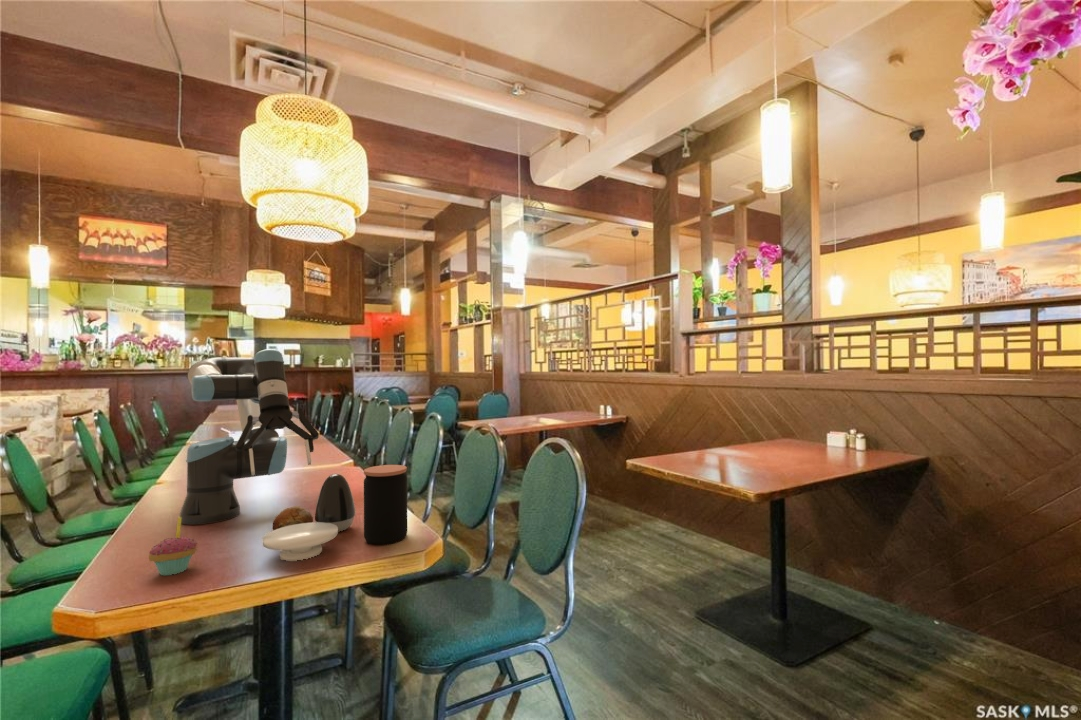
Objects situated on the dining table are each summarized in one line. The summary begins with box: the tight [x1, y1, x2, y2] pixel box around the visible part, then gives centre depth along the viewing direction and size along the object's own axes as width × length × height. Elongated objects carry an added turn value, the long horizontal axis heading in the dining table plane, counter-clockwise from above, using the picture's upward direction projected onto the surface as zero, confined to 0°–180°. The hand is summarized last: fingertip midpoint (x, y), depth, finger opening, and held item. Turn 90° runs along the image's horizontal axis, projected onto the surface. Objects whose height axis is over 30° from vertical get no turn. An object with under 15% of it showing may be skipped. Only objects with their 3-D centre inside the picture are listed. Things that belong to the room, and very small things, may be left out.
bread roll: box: [271, 506, 314, 531], centre depth 135 cm, size 10×10×8 cm
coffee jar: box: [363, 464, 408, 546], centre depth 126 cm, size 11×11×18 cm
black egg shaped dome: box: [314, 473, 356, 533], centre depth 134 cm, size 10×10×15 cm
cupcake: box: [148, 512, 198, 576], centre depth 107 cm, size 9×8×12 cm
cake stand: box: [262, 521, 339, 562], centre depth 116 cm, size 16×16×5 cm
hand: (282, 468), depth 132 cm, fingers open, 13 cm apart
